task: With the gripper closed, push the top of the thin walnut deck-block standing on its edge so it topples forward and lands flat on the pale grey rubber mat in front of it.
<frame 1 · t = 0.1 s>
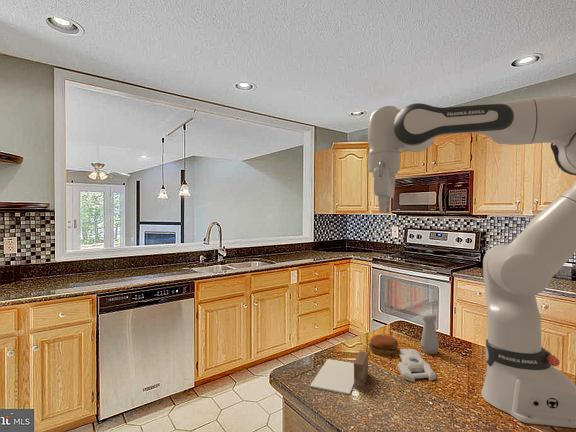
hand: (384, 212, 93), 48 cm above the counter, fingers open, 8 cm apart
burger: (383, 350, 114), on the counter
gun: (412, 369, 100), on the counter
salt shaker: (429, 352, 112), on the counter
mat: (337, 375, 96), on the counter
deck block: (361, 380, 93), on the counter
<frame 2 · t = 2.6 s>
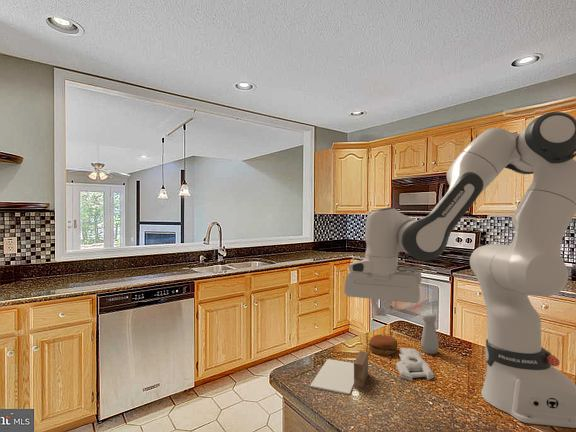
hand: (381, 315, 91), 19 cm above the counter, fingers closed
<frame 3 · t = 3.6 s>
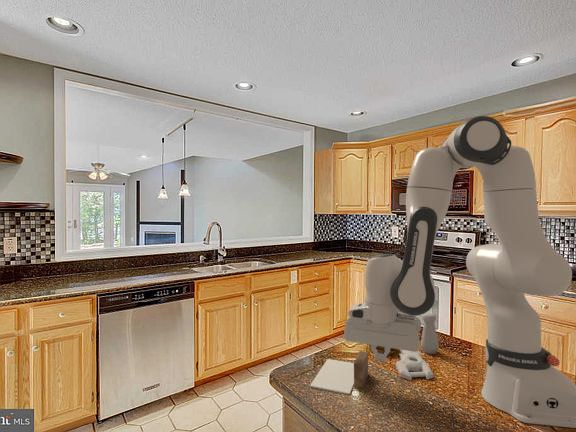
hand: (380, 361, 91), 6 cm above the counter, fingers closed
nothing on the counter moved.
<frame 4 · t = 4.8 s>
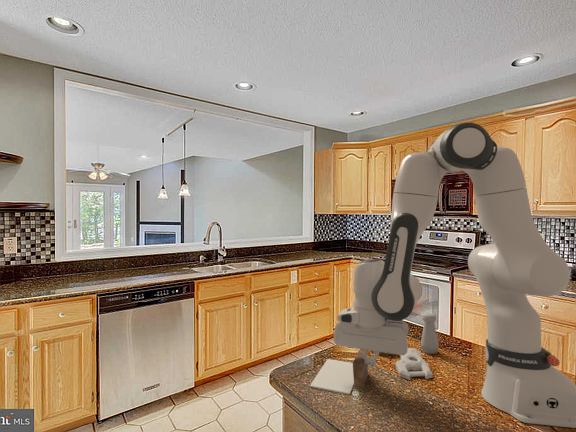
hand: (369, 364, 92), 5 cm above the counter, fingers closed
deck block: (361, 380, 93), on the counter, touching gripper
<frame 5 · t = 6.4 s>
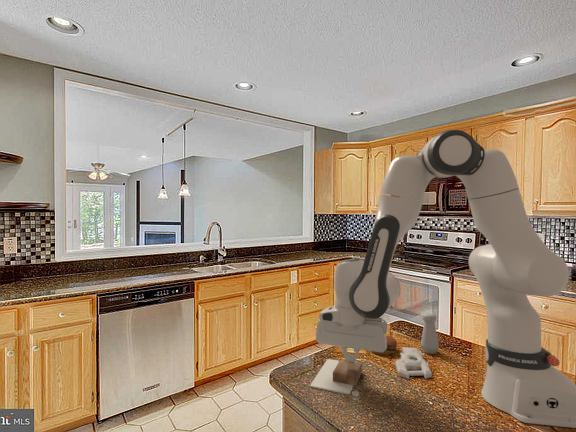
hand: (350, 362, 94), 5 cm above the counter, fingers closed
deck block: (358, 373, 93), point 2 cm above the counter, tilted 90°, touching mat
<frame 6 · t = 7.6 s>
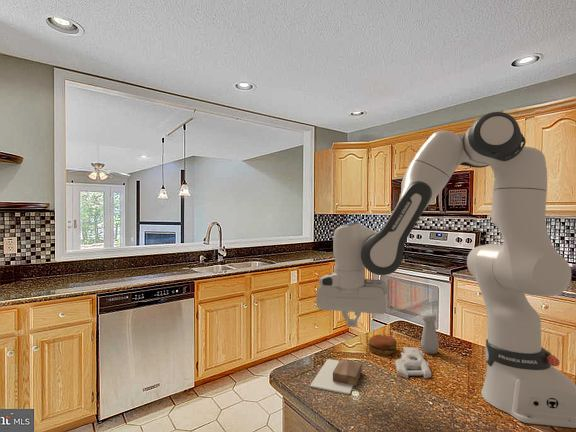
hand: (352, 326, 94), 15 cm above the counter, fingers closed
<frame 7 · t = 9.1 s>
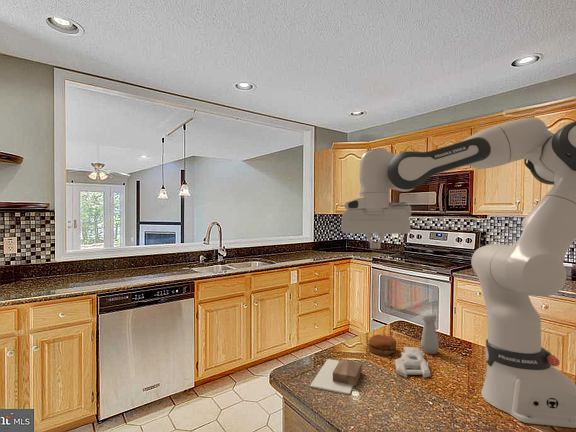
hand: (375, 248, 98), 37 cm above the counter, fingers closed
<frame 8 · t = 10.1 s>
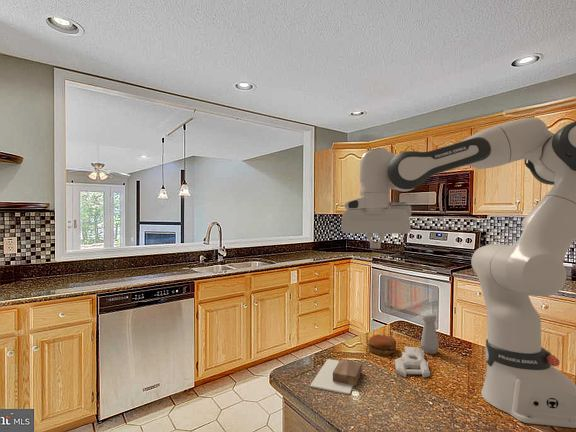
hand: (375, 248, 98), 37 cm above the counter, fingers closed
at the end: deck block tilted 90°; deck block inside the target area (5.3 cm from its centre), point 1.6 cm above the counter; the gripper is holding nothing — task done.
